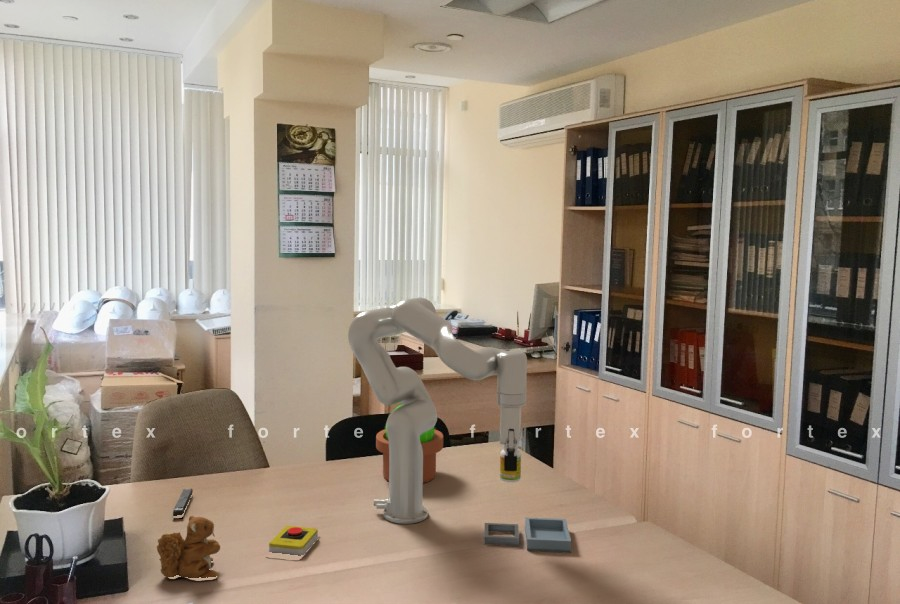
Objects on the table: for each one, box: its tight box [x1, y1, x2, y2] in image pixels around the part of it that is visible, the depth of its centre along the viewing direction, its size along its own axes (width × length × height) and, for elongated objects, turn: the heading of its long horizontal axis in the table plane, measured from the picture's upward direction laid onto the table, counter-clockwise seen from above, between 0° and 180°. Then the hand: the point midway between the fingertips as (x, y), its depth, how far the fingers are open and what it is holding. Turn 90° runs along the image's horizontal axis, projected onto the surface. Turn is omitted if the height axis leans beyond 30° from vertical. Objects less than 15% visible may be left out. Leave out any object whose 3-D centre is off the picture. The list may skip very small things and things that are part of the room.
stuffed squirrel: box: [156, 515, 221, 578], centre depth 166 cm, size 10×14×13 cm
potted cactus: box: [375, 403, 444, 484], centre depth 234 cm, size 22×22×25 cm
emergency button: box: [268, 525, 319, 556], centre depth 182 cm, size 9×4×15 cm
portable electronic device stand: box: [172, 488, 194, 517], centre depth 206 cm, size 18×3×3 cm, turn 11°
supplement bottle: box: [499, 441, 522, 483], centre depth 187 cm, size 5×5×10 cm
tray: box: [524, 517, 572, 553], centre depth 188 cm, size 11×14×3 cm
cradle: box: [483, 522, 520, 547], centre depth 189 cm, size 9×9×2 cm
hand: (510, 466), depth 187 cm, fingers closed on supplement bottle, 5 cm apart
